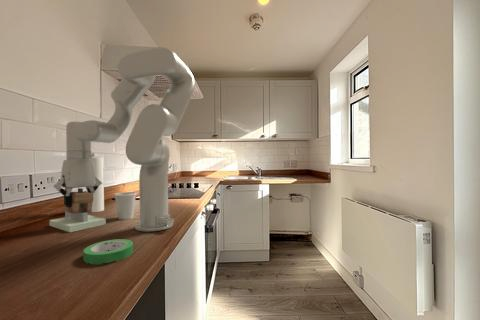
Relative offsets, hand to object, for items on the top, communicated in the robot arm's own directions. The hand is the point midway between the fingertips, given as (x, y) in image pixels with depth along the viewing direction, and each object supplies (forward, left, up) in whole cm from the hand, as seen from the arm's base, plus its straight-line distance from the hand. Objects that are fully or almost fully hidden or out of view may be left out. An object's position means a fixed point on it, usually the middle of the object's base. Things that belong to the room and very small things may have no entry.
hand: (79, 204), depth 93 cm
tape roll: (-37, +10, -8) cm, 39 cm away
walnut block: (0, 0, -2) cm, 2 cm away
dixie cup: (-3, -16, -8) cm, 18 cm away
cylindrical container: (+23, -17, -8) cm, 30 cm away
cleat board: (+2, 0, -8) cm, 8 cm away
